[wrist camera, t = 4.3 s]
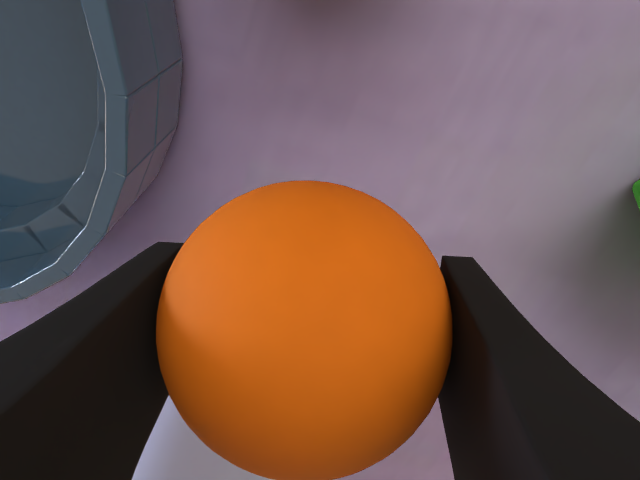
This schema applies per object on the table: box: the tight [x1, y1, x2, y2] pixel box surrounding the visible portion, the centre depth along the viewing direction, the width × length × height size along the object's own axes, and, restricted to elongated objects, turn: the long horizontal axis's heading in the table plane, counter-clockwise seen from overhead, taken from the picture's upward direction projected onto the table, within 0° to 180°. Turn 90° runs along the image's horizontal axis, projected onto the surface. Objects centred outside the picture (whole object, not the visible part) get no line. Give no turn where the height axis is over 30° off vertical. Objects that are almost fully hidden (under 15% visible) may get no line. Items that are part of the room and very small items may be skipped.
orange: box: [156, 181, 453, 480], centre depth 9 cm, size 6×6×6 cm
